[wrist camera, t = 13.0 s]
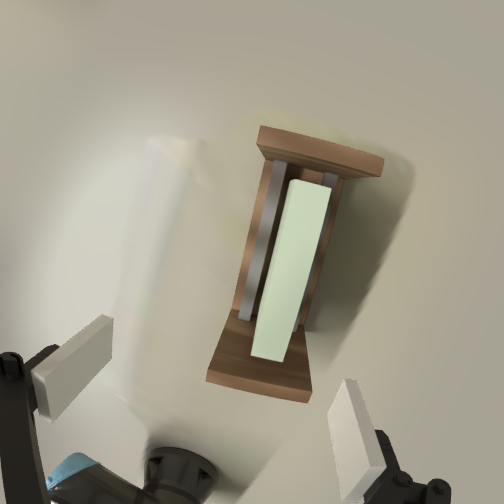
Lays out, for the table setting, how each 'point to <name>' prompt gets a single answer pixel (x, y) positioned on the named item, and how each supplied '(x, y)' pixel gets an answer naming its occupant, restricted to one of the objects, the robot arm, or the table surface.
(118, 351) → the table surface
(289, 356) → the wooden rail bracket
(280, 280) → the door panel
